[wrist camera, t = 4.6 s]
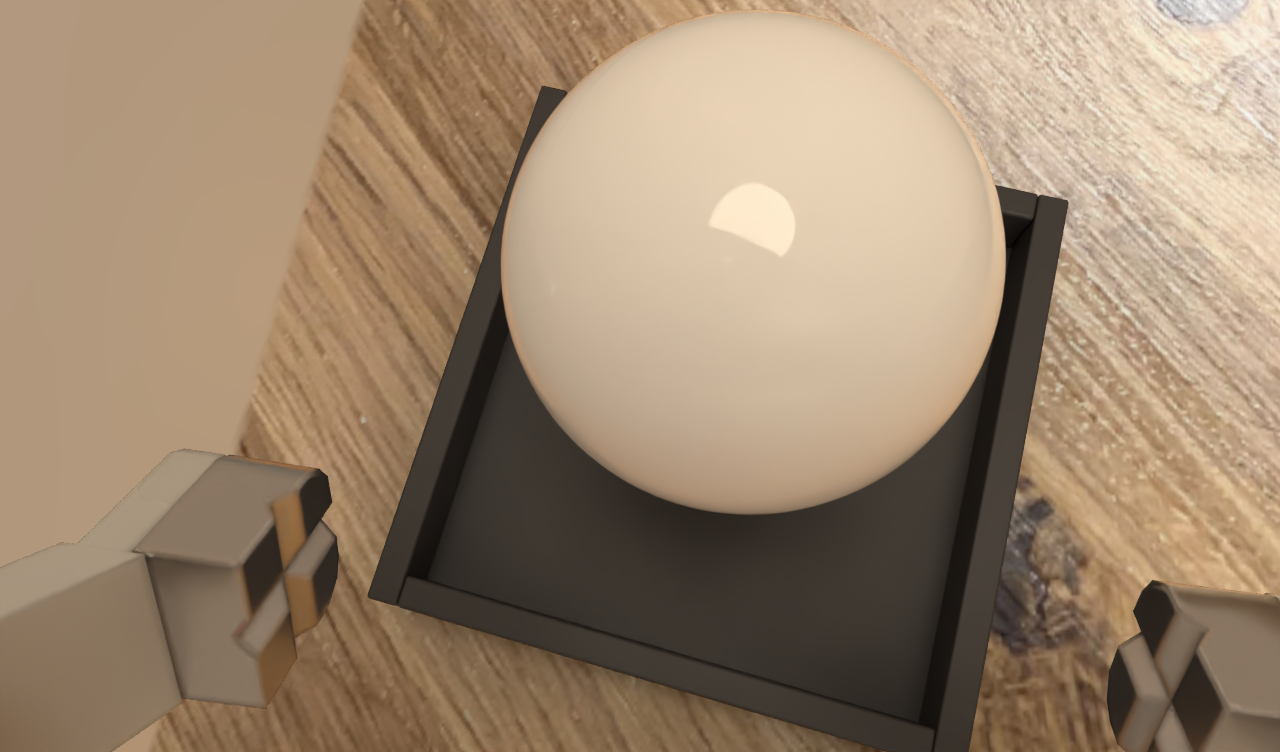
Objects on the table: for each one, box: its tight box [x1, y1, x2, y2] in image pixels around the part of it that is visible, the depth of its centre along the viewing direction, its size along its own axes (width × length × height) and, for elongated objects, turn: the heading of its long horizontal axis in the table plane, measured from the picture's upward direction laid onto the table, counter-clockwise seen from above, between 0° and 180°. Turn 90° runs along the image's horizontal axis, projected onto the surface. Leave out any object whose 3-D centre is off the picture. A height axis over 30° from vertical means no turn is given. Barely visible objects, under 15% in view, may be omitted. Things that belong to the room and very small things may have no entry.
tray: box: [368, 86, 1068, 752], centre depth 20 cm, size 11×11×2 cm
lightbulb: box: [501, 10, 1006, 515], centre depth 15 cm, size 6×6×11 cm
